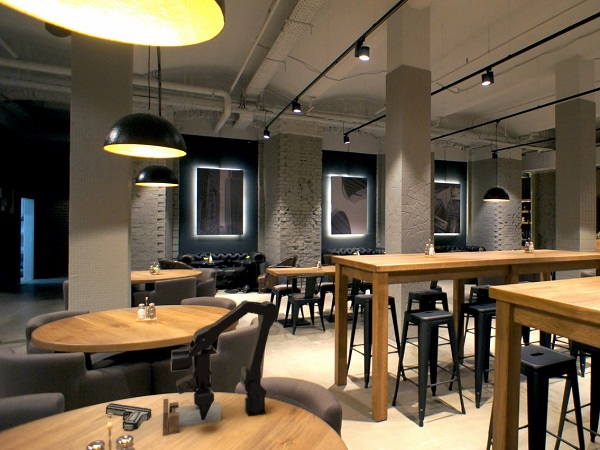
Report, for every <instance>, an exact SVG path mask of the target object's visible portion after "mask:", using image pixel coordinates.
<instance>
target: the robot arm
mask: <svg viewBox="0 0 600 450" xmlns="http://www.w3.org/2000/svg"><path fill="white" fill-rule="evenodd" d="M248 314H254V315H257V328H256V333H255V337H254V341H253V344H252V349H251V352H250V357H249V360H248V363H247V365H246V366H241V370H240V371H241V372H240V375H239V376H238V378H239V379H240V381H239V382H240V384H241V387H242V388H243V389H244V390H245V392H246V394H245V398H244V410H245V412H246V414H247V416H248V417H251V416H256V415H257V416H258V415H262V414H267V411H266V395H267V390H266V388H264V386H263V385H262V384H261V382H262V374H261V373H262V371H261V370H262V369H261V365H262V363H263V358H264V355H265V350H266V347H267V342H268V337H269V333H270V329H271V327H273V325H274V324H275V322H276V319H277V317H278V314H279V308H278V306H277V304H276V303H274V302H271V301H268V300H264V301H262V302H259V301H249V300H247V299H245V300H242V301H241V302H240V303H239V304H238V305H237V306H235V307H234V308H233V309H231V310H230V311H228V312H227V313H225V314H224V315H223V316H222V317H220V318H219V319H217V320H216V321H215V322H213V323H211V324H207V325H205V326H203V327H201V328H199V329H197V330H196V331H195V332H194V333H193V337H192V339H191V341H190V343H189V344H188V346H187V347H186V348H185V349H172V350H171V356H170V357H171V358H170V372H173V373H174V372H180V371H187V370H190V369H191V367H192V366H193V369H192V371H191V374H189V375H186V376H184V377H182V378H180V379H178V380H177V381H175V387H176V388H177V393H178V394H179V395H182V394H184V393H185V392H188V391H189V390H192V391H194V393H193V402H194V404H193V405H197V406H199V410H200V415H201V420H205V418H206V416H207V413H208V411H209V409H210V407H211V405H212V403H213V402H215V393H214V390H213V389H211V388H212V381H211V378H212V377H211V376H212V365H211V364H212V362H211V361H212V355H215V354H216V355H217V353H218V351H217V349H215V348H214V347H213V344H214V343H215V342H216V340H217V339H218V338H219V336H221V334H222V333H223V332H224V331H226V330H227V329H229V328H230V327H232V326H233V325H235V323H237V322H238V321H240V319H241V320H242V318H243V317H245V316H246V315H248Z"/></svg>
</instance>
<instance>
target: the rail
mask: <svg viewBox="0 0 600 450" xmlns="http://www.w3.org/2000/svg"><path fill="white" fill-rule="evenodd" d="M174 412H179V429H180V428H186V427H193V426H198V425H203V424H204V425H205V424H211V423H217V422H221V421H222V405H221V402H220V401H213V403H212V405H211V407H210V409H209V411H208V413H207V416H206V418H205V420H201V415H200V410H199V406H197V405H195V404H192V405H184V406H179V407H178V408H172V413H174Z"/></svg>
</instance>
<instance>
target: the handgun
mask: <svg viewBox="0 0 600 450" xmlns="http://www.w3.org/2000/svg"><path fill="white" fill-rule="evenodd" d="M105 414H107V416H111V417H112V416H117V417H122V429H123V430H124V431H126V430H127V431H128V430H129V431H130V430H131V431H137V430H138V429H139V428H140V426H141V425H142V423H143V422H145V421H149V420H150V419H151V418H152V408H149V407H139V406H133V405H126V404H119V403H111V402H110V403H108V405H106V407H105Z"/></svg>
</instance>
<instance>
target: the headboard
mask: <svg viewBox="0 0 600 450" xmlns="http://www.w3.org/2000/svg"><path fill="white" fill-rule="evenodd" d="M162 401H163V403H162V405H163V406H162V407H163V408H162V436H168V435H172V434H178V433H180V428H179V412H174V413H172V408H178V407H180V405H179V401H175V402H169V398H163V400H162Z"/></svg>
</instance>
